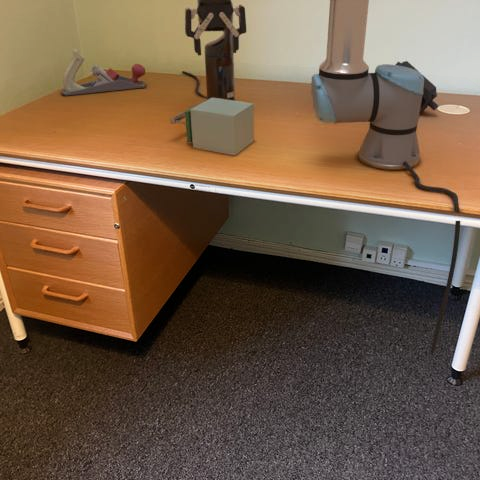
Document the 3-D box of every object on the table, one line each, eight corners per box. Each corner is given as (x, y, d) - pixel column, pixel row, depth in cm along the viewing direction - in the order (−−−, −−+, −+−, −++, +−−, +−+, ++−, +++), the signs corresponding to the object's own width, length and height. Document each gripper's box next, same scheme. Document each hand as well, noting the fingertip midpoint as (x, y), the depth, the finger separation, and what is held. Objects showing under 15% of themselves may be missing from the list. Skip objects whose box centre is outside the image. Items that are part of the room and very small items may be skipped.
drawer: (169, 138, 151) (166, 108, 147) (188, 127, 159) (186, 97, 154) (224, 149, 144) (222, 117, 139) (241, 136, 152) (241, 105, 147)
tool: (376, 92, 179) (403, 55, 168) (419, 129, 175) (449, 94, 164) (367, 96, 175) (394, 59, 164) (411, 135, 171) (441, 99, 160)
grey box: (192, 147, 148) (190, 109, 142) (213, 134, 157) (211, 97, 151) (234, 155, 143) (233, 116, 137) (253, 141, 151) (253, 103, 146)
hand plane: (62, 90, 197) (53, 48, 189) (145, 82, 205) (140, 41, 197) (62, 96, 191) (54, 53, 184) (148, 87, 199) (143, 45, 191)
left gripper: (241, -25, 124) (242, 48, 132) (180, -22, 121) (185, 51, 130) (248, -21, 117) (248, 55, 126) (183, -18, 115) (189, 59, 124)
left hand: (216, 53), depth 128 cm, fingers open, 8 cm apart
